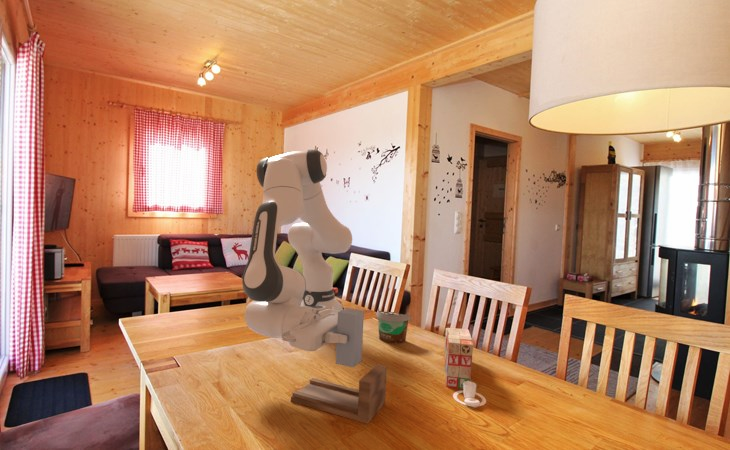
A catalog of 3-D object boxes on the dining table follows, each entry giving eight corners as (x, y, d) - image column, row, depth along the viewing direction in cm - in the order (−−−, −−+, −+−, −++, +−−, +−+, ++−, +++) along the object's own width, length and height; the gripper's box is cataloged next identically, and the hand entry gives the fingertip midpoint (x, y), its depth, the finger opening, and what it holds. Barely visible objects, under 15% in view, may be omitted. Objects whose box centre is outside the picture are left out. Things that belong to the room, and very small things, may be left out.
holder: (313, 384, 103) (314, 350, 102) (384, 403, 95) (386, 366, 94) (290, 401, 94) (292, 364, 93) (368, 423, 86) (369, 383, 85)
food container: (369, 340, 136) (371, 312, 136) (376, 335, 142) (377, 308, 141) (404, 347, 132) (405, 317, 131) (409, 341, 138) (410, 313, 137)
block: (344, 356, 96) (346, 307, 95) (361, 360, 94) (363, 310, 93) (335, 363, 91) (337, 312, 91) (353, 367, 90) (355, 315, 89)
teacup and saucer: (479, 413, 93) (480, 396, 93) (447, 402, 97) (448, 386, 97) (489, 398, 100) (490, 382, 100) (459, 389, 105) (460, 374, 104)
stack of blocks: (443, 356, 126) (446, 318, 125) (464, 358, 125) (466, 320, 124) (446, 387, 104) (448, 341, 104) (470, 390, 103) (473, 343, 103)
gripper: (277, 323, 88) (331, 334, 82) (324, 303, 106) (371, 311, 101) (276, 351, 88) (330, 364, 83) (323, 326, 107) (370, 336, 101)
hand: (353, 335), depth 92 cm, fingers closed on block, 4 cm apart
